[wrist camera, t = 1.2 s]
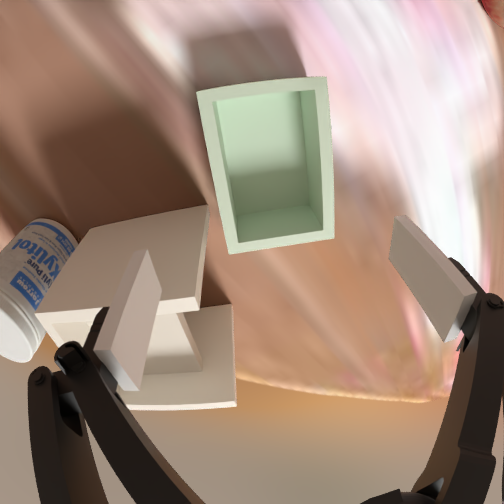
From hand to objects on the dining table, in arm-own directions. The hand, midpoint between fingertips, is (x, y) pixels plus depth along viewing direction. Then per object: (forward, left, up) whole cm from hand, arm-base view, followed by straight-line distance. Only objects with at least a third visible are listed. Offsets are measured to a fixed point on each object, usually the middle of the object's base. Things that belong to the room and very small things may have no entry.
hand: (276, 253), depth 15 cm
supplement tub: (+5, -26, -16) cm, 31 cm away
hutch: (+11, -12, -16) cm, 22 cm away
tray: (-1, +1, -16) cm, 16 cm away
